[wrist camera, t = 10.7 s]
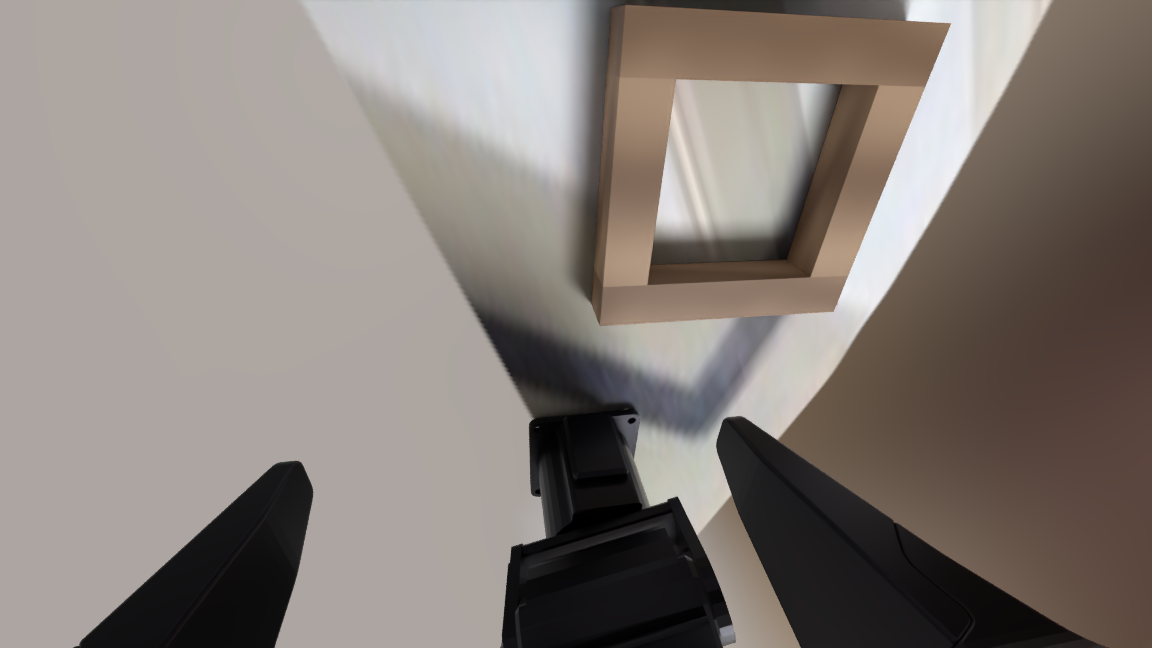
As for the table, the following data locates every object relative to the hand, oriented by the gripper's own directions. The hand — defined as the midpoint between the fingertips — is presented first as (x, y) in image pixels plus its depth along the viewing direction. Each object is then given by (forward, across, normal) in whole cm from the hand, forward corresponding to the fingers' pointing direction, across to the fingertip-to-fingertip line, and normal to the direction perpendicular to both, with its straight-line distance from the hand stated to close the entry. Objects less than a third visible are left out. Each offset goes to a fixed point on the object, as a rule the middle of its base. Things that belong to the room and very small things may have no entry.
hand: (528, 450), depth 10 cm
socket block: (+12, -10, -2) cm, 16 cm away
